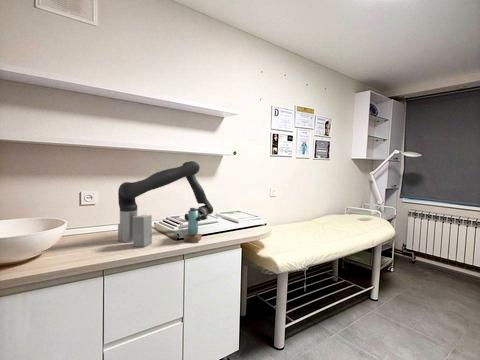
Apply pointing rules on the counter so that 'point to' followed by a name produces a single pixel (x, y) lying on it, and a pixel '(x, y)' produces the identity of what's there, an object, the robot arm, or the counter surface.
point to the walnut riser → (192, 238)
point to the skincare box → (142, 230)
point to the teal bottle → (192, 221)
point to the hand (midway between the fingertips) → (191, 219)
